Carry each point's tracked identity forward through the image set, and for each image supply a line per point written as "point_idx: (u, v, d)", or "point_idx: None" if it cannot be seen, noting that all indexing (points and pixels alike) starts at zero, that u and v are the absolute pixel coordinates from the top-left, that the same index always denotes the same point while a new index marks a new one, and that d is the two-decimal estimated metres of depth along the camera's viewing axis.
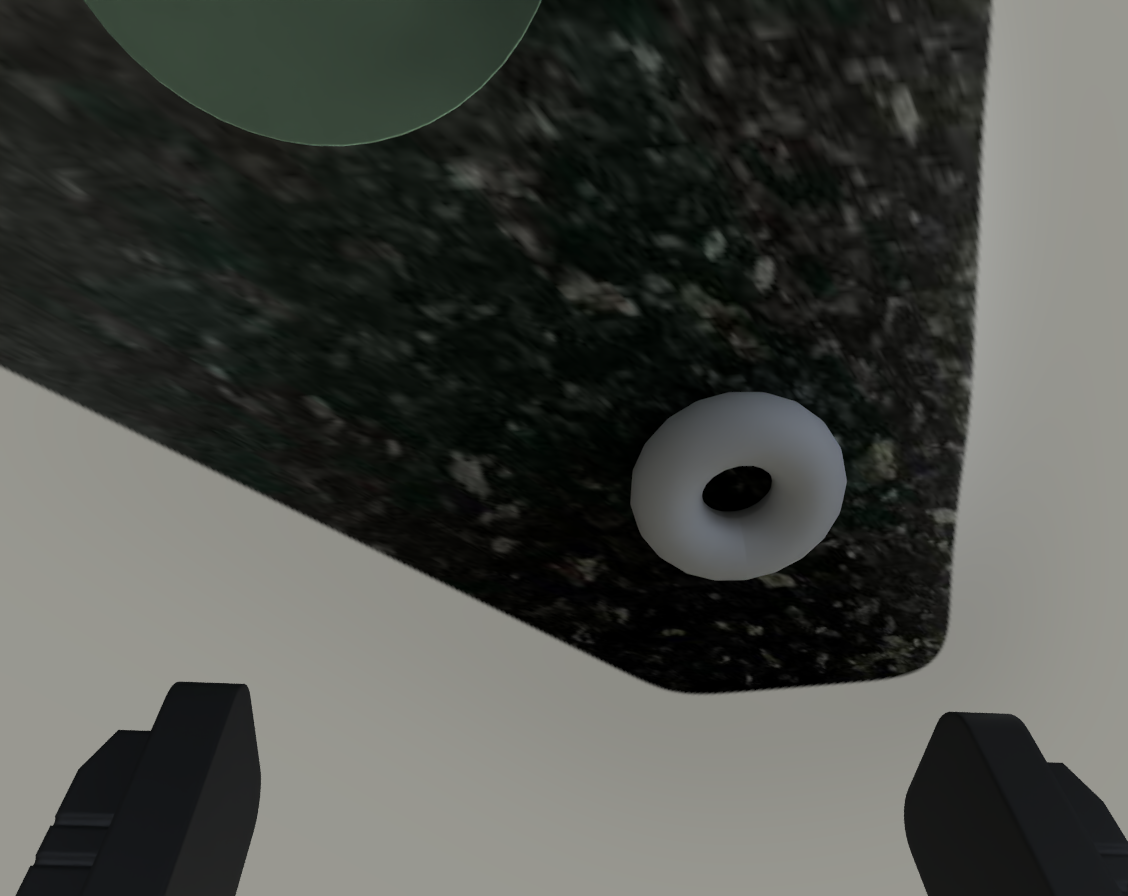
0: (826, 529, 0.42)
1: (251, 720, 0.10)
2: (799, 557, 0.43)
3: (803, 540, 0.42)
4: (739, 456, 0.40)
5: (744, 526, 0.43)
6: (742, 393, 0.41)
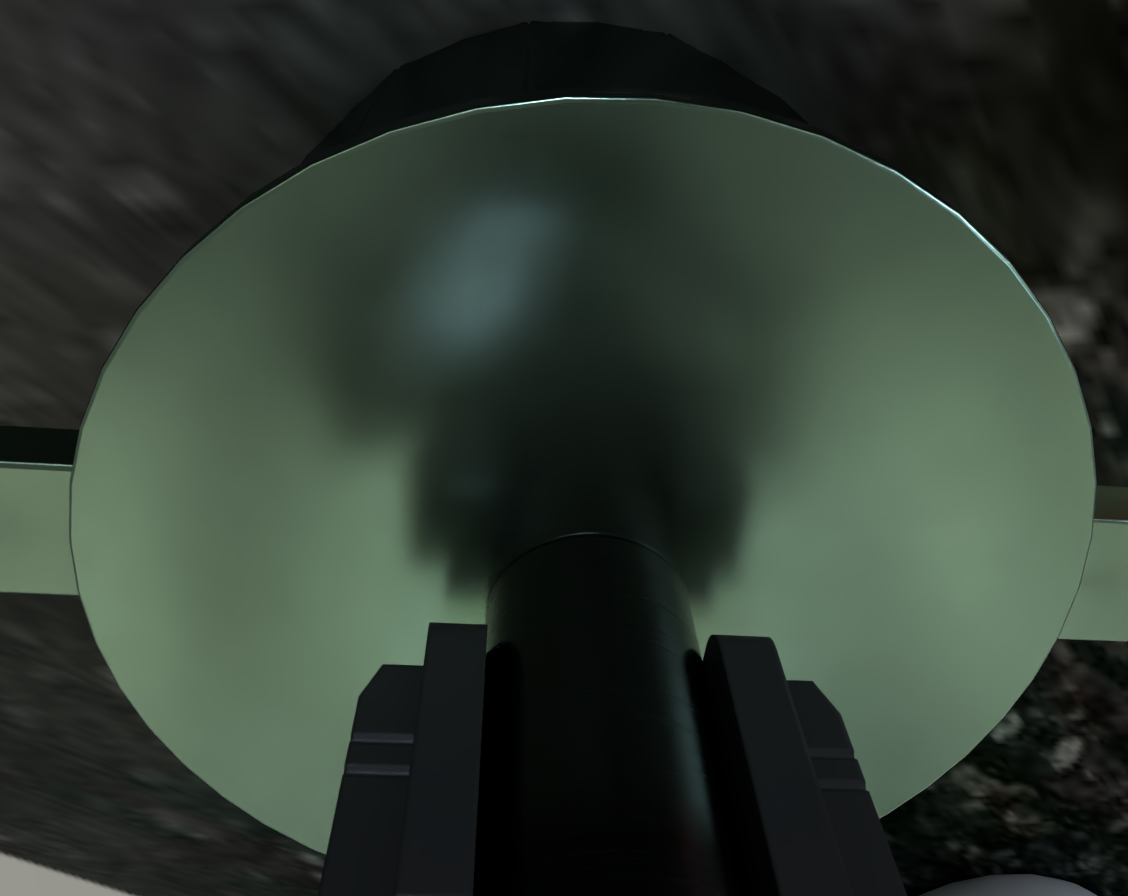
0: None
1: None
2: None
3: None
4: None
5: None
6: (1021, 890, 0.30)
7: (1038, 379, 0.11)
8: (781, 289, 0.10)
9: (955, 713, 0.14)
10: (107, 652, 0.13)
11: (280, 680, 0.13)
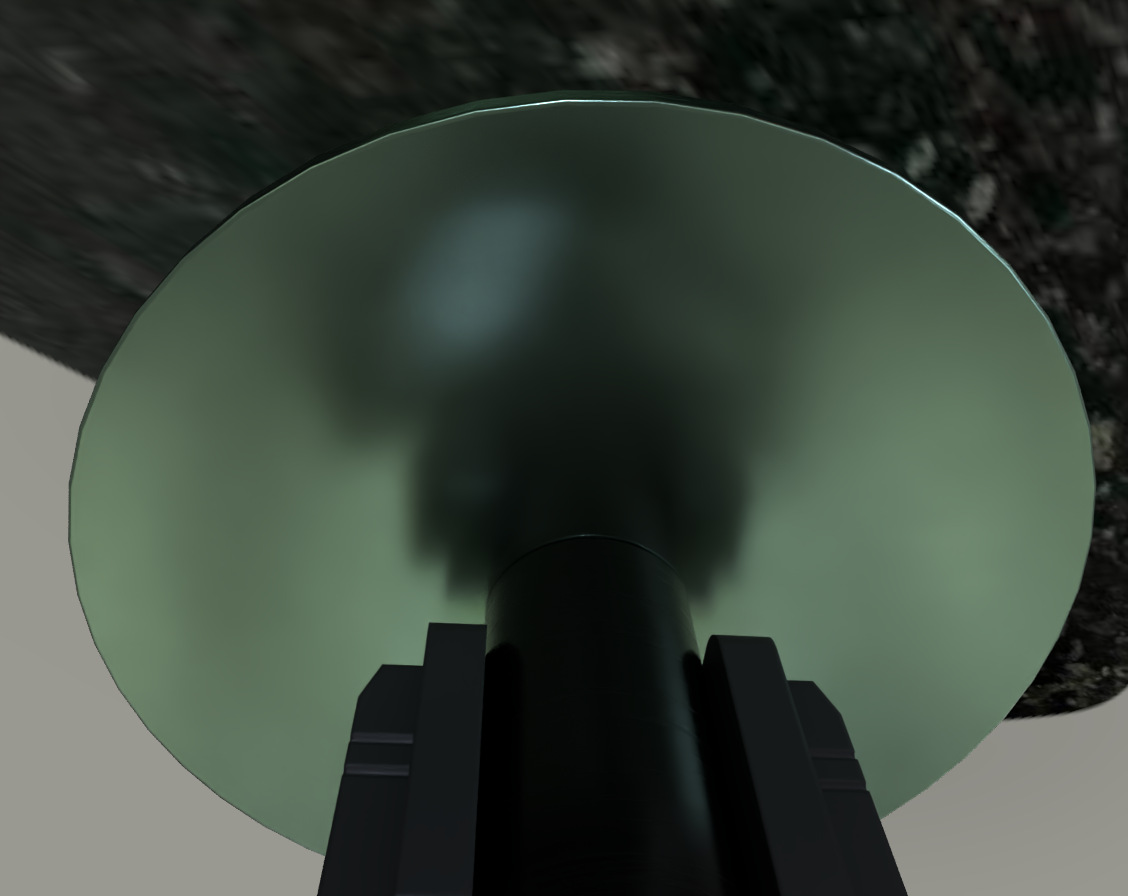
0: None
1: None
2: None
3: None
4: None
5: None
6: None
7: (1038, 382, 0.11)
8: (780, 292, 0.10)
9: (954, 715, 0.14)
10: (106, 654, 0.13)
11: (279, 682, 0.13)
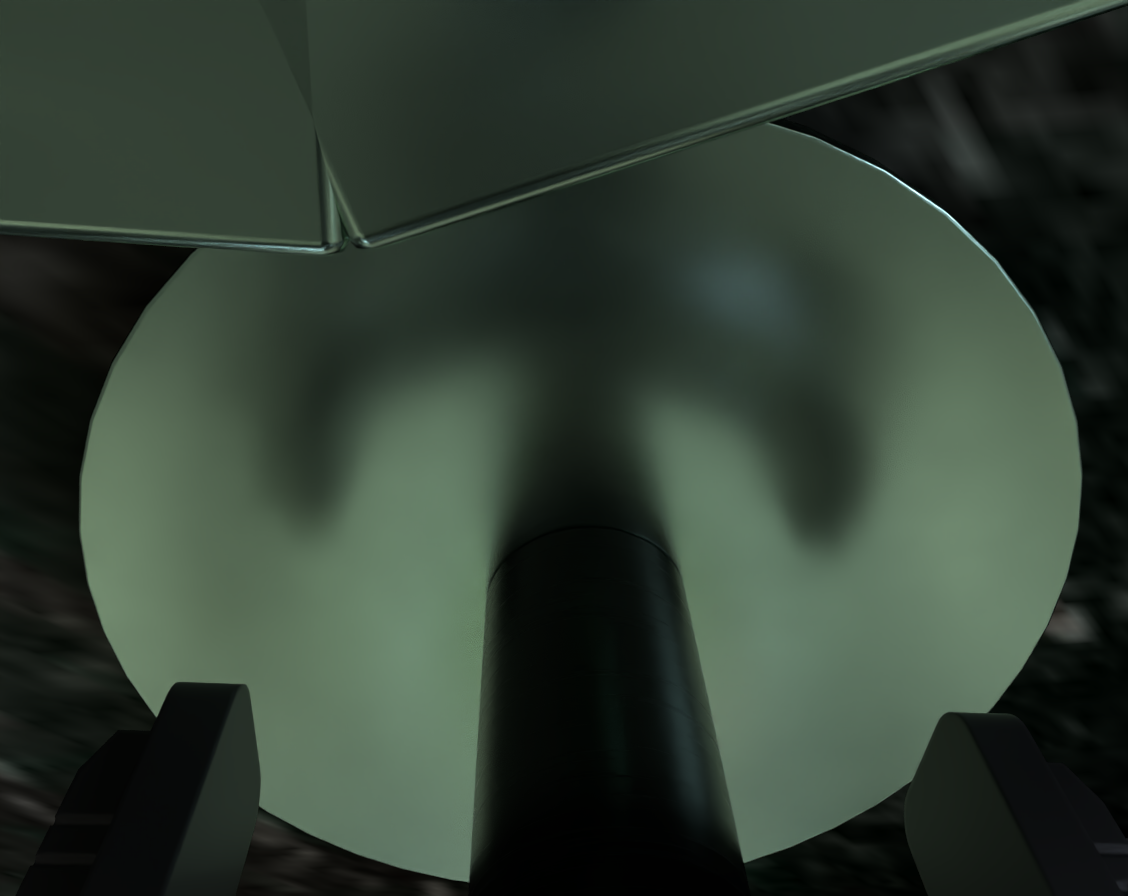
0: None
1: (252, 720, 0.10)
2: None
3: None
4: None
5: None
6: None
7: (1025, 374, 0.11)
8: (773, 286, 0.10)
9: (946, 702, 0.14)
10: (115, 641, 0.13)
11: (284, 670, 0.13)
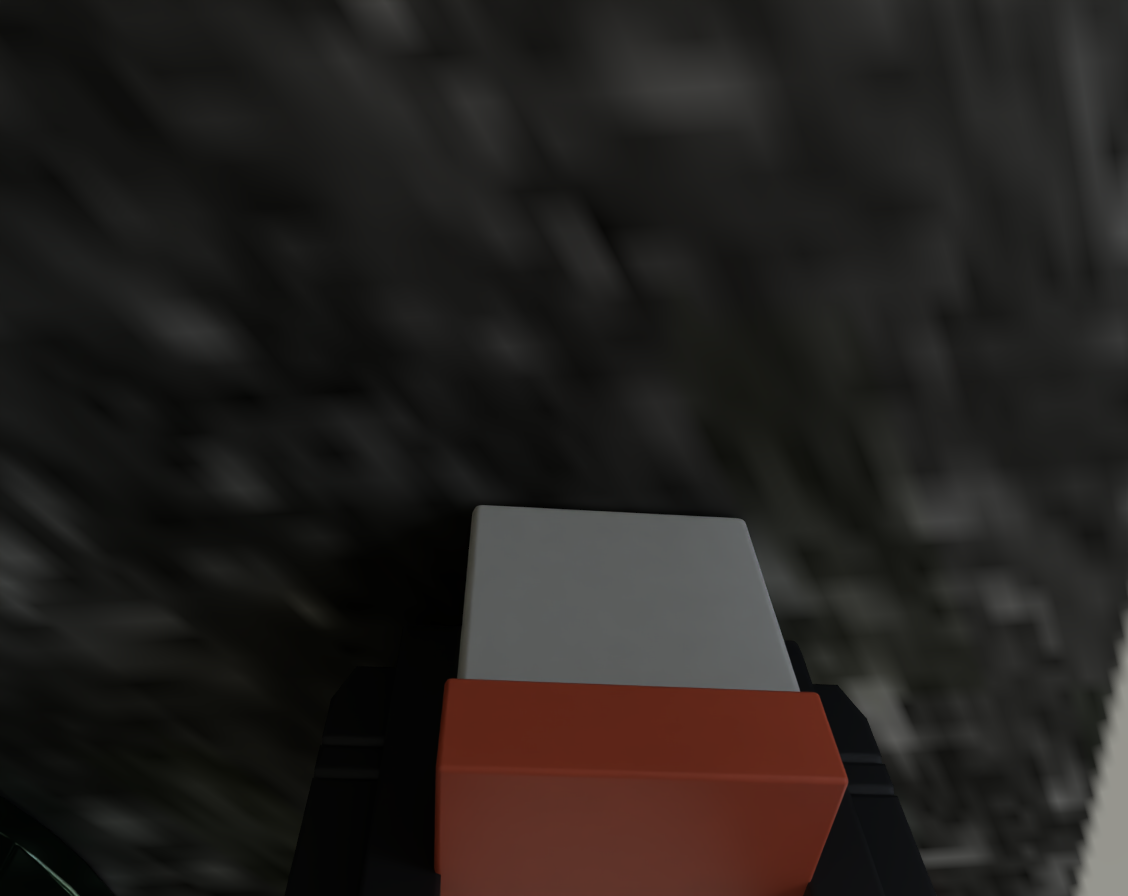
0: None
1: None
2: None
3: None
4: None
5: None
6: None
7: None
8: None
9: None
10: None
11: None
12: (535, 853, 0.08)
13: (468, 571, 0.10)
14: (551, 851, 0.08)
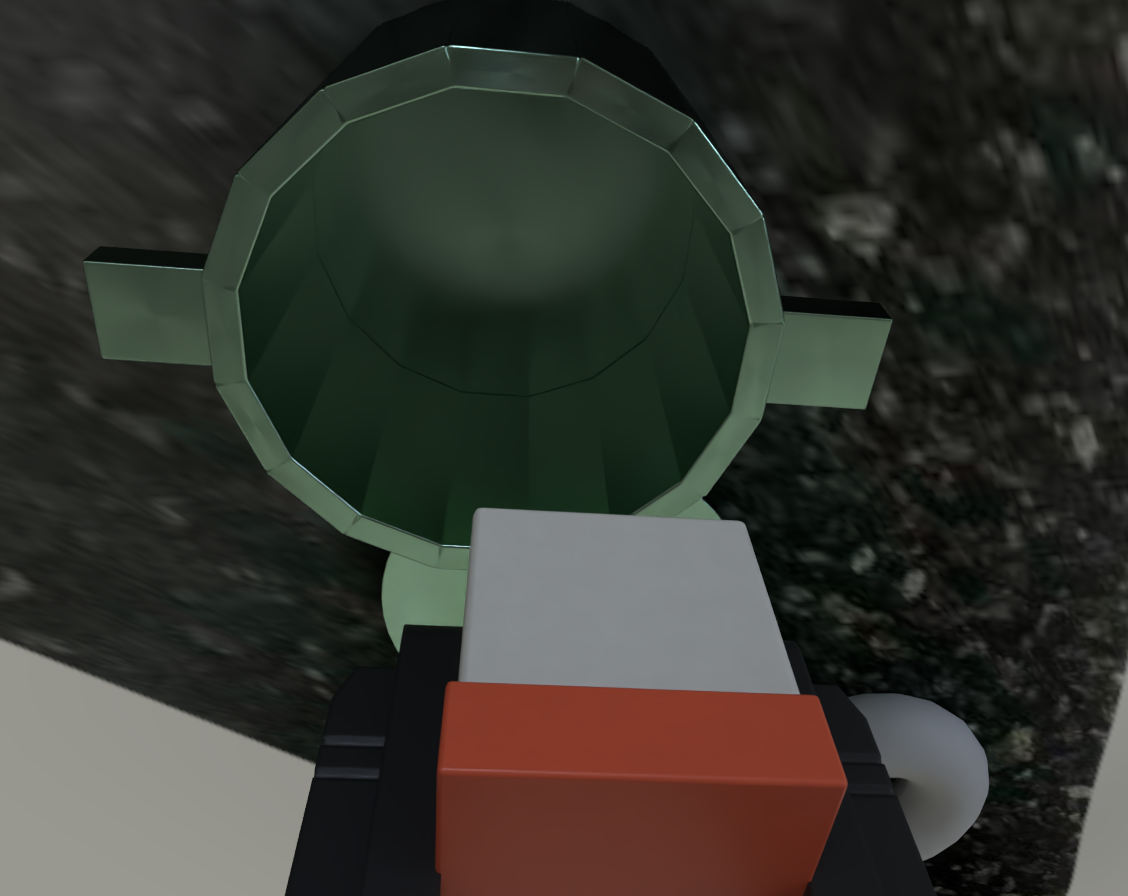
0: (965, 831, 0.39)
1: None
2: (933, 855, 0.40)
3: (940, 844, 0.39)
4: None
5: None
6: (883, 700, 0.37)
7: None
8: None
9: None
10: (387, 619, 0.34)
11: None
12: (535, 855, 0.08)
13: (469, 574, 0.10)
14: (551, 853, 0.08)
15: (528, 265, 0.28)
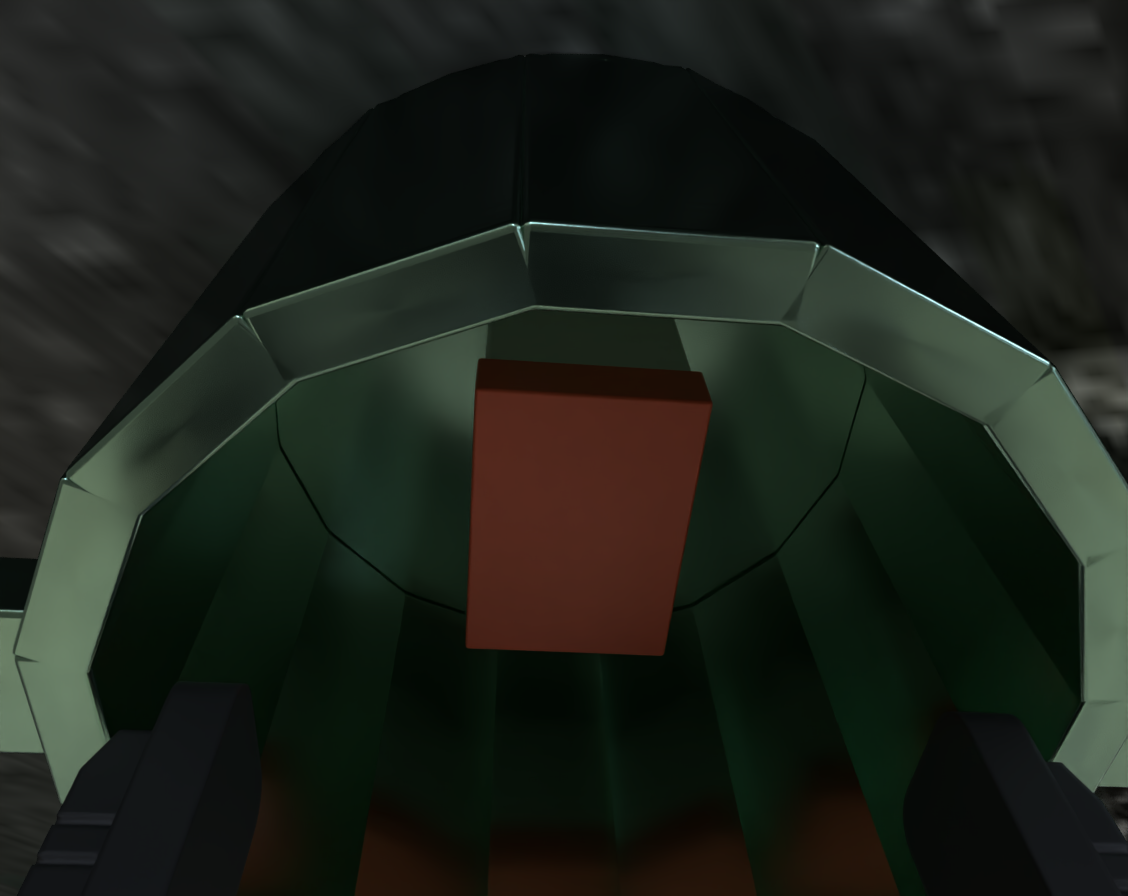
0: None
1: (253, 718, 0.10)
2: None
3: None
4: None
5: None
6: None
7: None
8: None
9: None
10: None
11: None
12: (531, 455, 0.14)
13: None
14: (541, 454, 0.14)
15: None
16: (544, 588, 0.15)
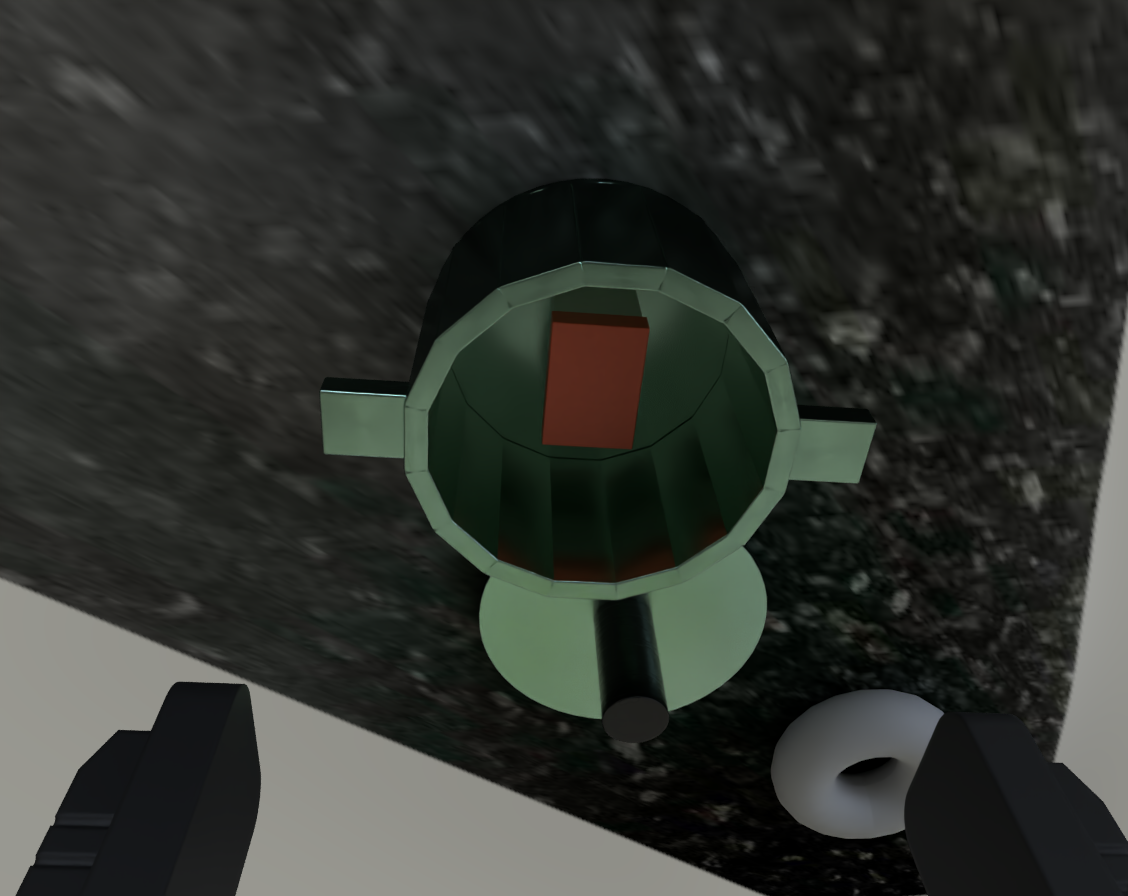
0: None
1: (251, 720, 0.10)
2: None
3: None
4: (876, 754, 0.46)
5: (871, 795, 0.49)
6: (876, 695, 0.46)
7: (742, 559, 0.42)
8: None
9: (736, 651, 0.45)
10: (482, 631, 0.43)
11: (531, 640, 0.44)
12: (574, 351, 0.32)
13: (553, 296, 0.34)
14: (578, 350, 0.32)
15: None
16: (578, 414, 0.34)
